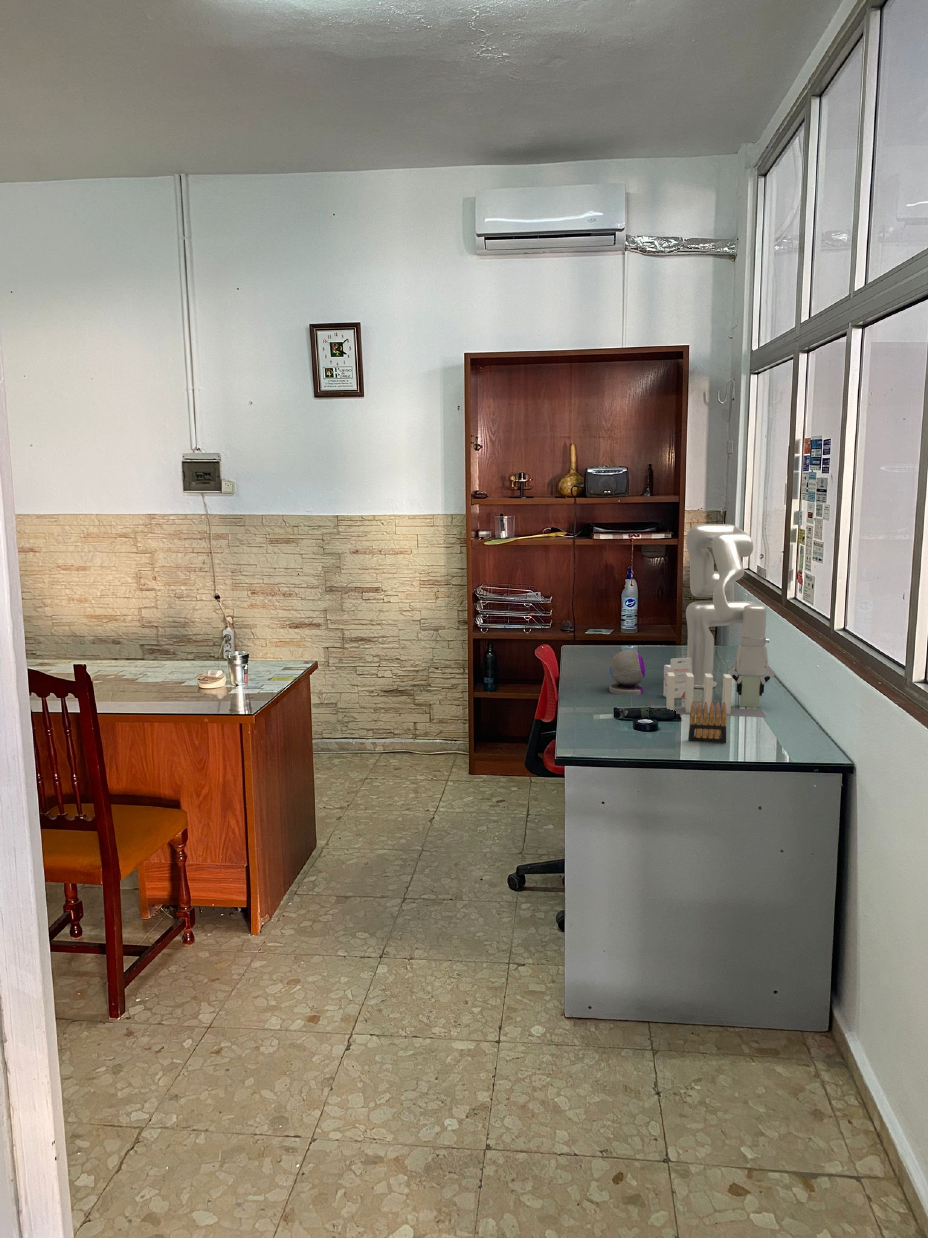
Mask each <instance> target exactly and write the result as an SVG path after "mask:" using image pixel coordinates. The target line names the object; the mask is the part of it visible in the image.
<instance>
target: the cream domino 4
mask: <svg viewBox="0 0 928 1238" xmlns="http://www.w3.org/2000/svg"><path fill="white" fill-rule="evenodd" d="M732 691H733V678H732V677H731V676H730V674H728V673H722V695H721V696H722V697H721V708H722V707H723V703H724V702H725V704H726V714H731V708H732Z"/></svg>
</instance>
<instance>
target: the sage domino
mask: <svg viewBox="0 0 928 1238" xmlns="http://www.w3.org/2000/svg"><path fill="white" fill-rule="evenodd" d="M741 684H742V695H739V706H740V707H743V708H744V707H747V708H748V707H749V708H759V707H760V697H761V696H759V693H760V677H759V676H743V678H742V681H741Z"/></svg>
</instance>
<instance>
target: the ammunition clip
mask: <svg viewBox="0 0 928 1238" xmlns="http://www.w3.org/2000/svg"><path fill="white" fill-rule="evenodd" d="M695 703H696V702H695V701H694V700H693V702H692V705H691V713H690V714H689V728H688V742H692V743H693V742H694V743H695V742H696V743H713V744H714V743H715V744H717V743H718V744H727V720H728V717H727V716H726V704H725V702H724V703H723V707H722V706H721V705H720V702H719V701H718V702H717V703H716V706H714V703H713V701H712V702H711V705H710V711H709V715H708V706H707V702H705V704H704V709H703V715H702V714H701V707H702V702H701V701H700V700H699V701H698V703H697V706H696V704H695ZM695 707H697V714H696V715H695ZM714 708H716V713H715V715H714ZM720 708H722V715H720Z"/></svg>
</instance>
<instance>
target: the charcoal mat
mask: <svg viewBox="0 0 928 1238" xmlns="http://www.w3.org/2000/svg"><path fill="white" fill-rule="evenodd" d="M651 708H666V705H650V709H651ZM674 710H675V711H676V714H675V715H690V713H686V711H685V706H680V705H679V706H675V705H674ZM715 713H716V707H714V716H715ZM696 714H697V706H695V715H696ZM701 714H702V716H703V706H701ZM721 715H722V707H720V716H721ZM708 716H709V713H708ZM726 716H728V717H751V718H767V715H766V714H765V713H764V711H763V710H762V709H760V708H759V709H757V708H735V707H733V708H732V707H731V714H726Z"/></svg>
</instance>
